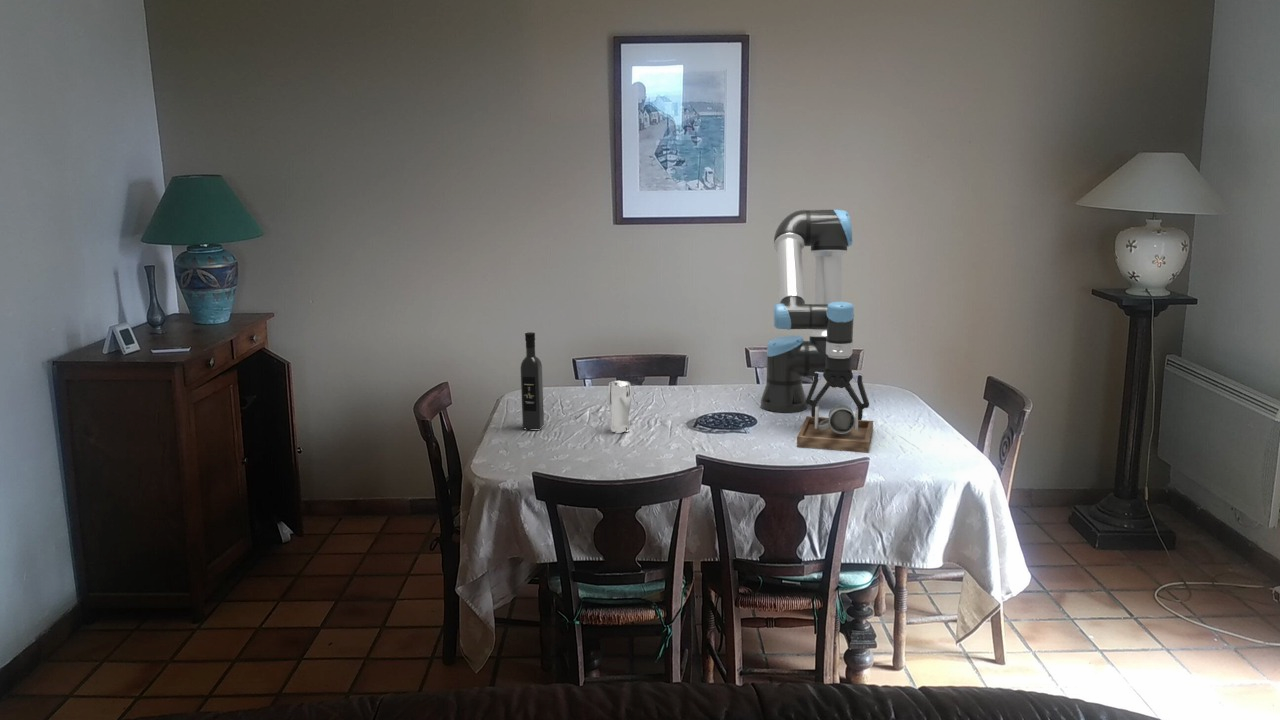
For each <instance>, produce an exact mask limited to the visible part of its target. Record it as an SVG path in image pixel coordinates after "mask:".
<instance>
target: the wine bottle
mask: <svg viewBox="0 0 1280 720" xmlns="http://www.w3.org/2000/svg"><path fill="white" fill-rule="evenodd" d="M524 339H525V351H526V352H525V355H526V356H525V357H524V358H523V359H522V361H521V364H520V388H521V389H520V390H521V392H520V393H521V394H520V395H521V413H522V414H521V415H522V417H521V419H522V429H523V428H526V429H540V428H541V427H542V426H543V425H544V426H545V418H544V414H545V413H544V411H545V410H544V390H543V389H544V388H543V387H544V383H543V364H542V362H541V360H540V358H539V357H537V356H536V341H535V340H536V333H535V332H533V331H532V332H528V331H527V332H525V333H524ZM544 426H543V427H544ZM543 427H542V428H543ZM542 428H541V429H542ZM541 429H540V430H541Z"/></svg>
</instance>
